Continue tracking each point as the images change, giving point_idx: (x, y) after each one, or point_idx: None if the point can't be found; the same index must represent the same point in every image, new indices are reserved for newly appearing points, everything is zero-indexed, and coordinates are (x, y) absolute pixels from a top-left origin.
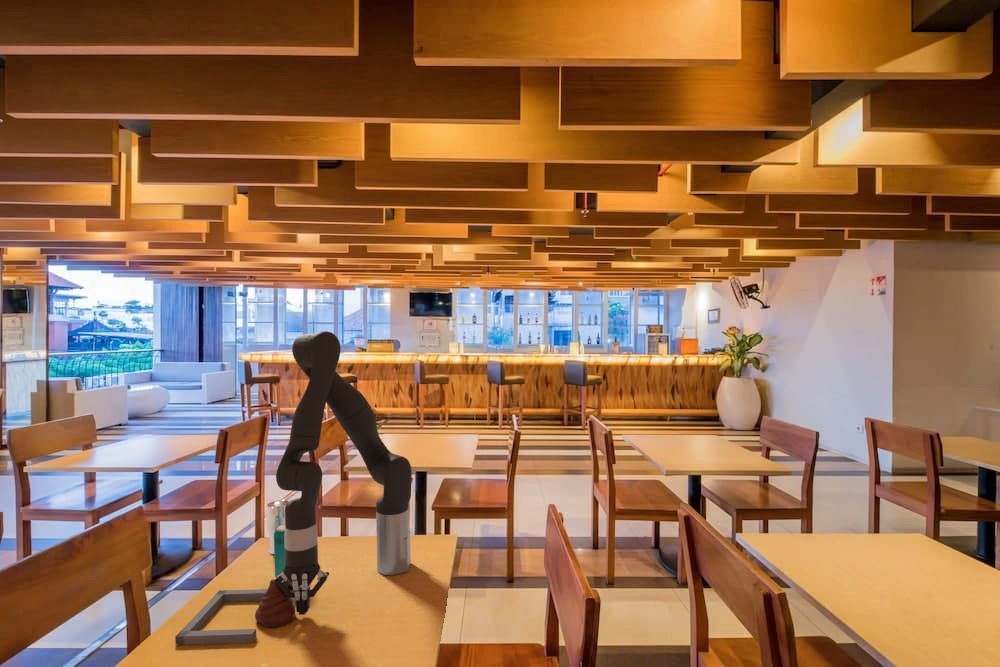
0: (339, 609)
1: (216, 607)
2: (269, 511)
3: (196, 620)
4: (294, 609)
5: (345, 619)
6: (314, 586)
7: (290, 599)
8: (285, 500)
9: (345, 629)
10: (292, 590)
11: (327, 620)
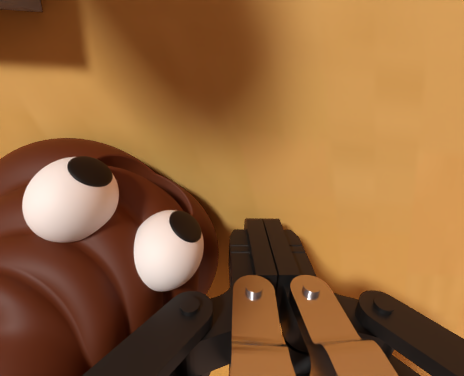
0: (433, 171)
1: None
2: None
3: None
4: (213, 246)
5: (448, 250)
6: (401, 352)
7: (182, 286)
8: None
9: (437, 306)
10: (195, 356)
11: (371, 252)
